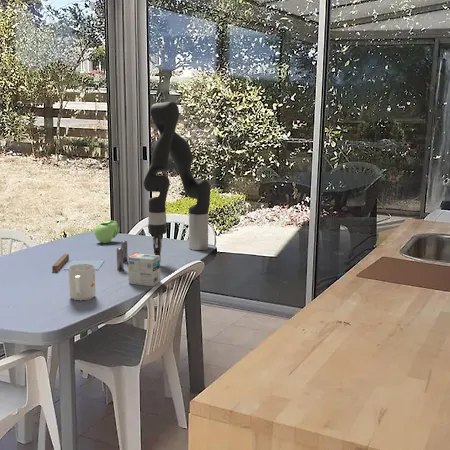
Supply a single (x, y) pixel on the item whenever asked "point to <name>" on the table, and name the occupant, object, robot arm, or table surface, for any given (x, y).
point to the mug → (82, 281)
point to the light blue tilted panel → (95, 263)
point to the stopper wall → (60, 263)
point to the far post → (124, 251)
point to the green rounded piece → (106, 231)
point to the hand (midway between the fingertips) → (157, 262)
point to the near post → (120, 259)
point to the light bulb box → (144, 269)
